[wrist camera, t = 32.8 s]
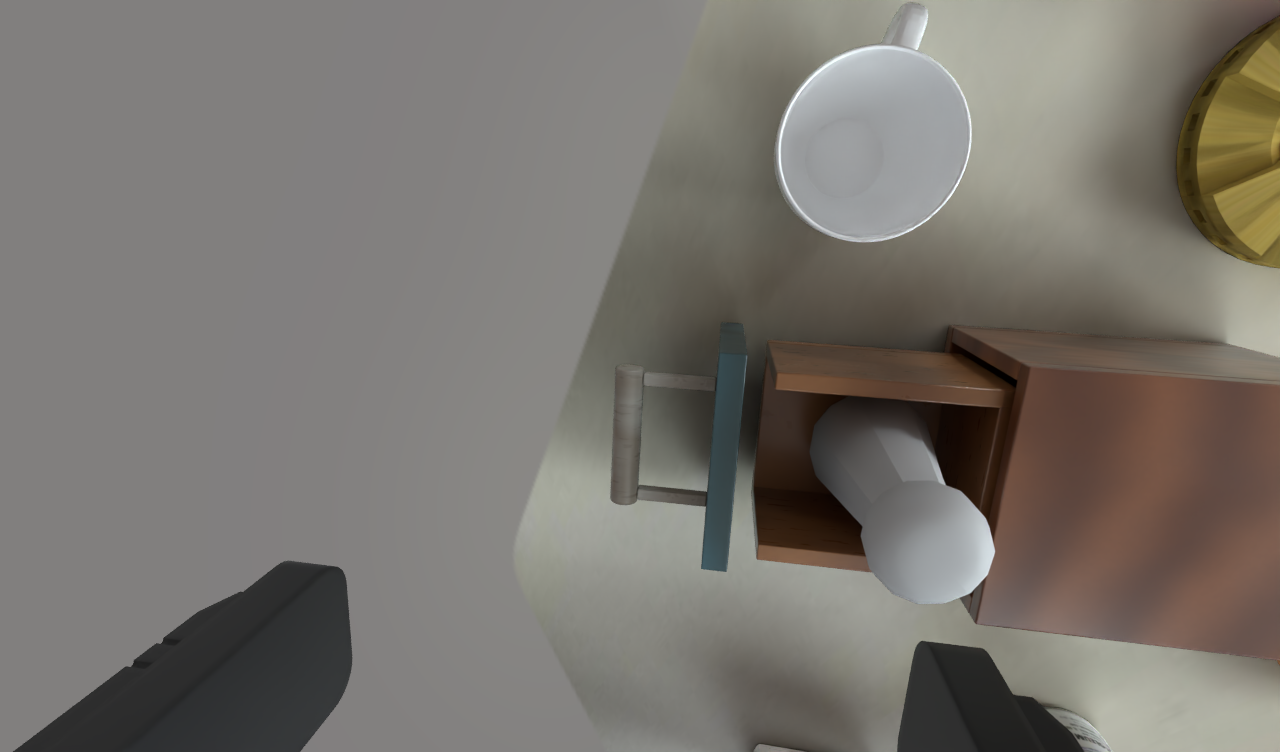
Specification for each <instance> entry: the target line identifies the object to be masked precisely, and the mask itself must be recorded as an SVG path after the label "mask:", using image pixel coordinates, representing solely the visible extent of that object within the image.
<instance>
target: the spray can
mask: <svg viewBox="0 0 1280 752" xmlns="http://www.w3.org/2000/svg"><path fill="white" fill-rule="evenodd" d="M1044 708H1045V709H1046V710H1047V711H1048V712H1049V713H1050V714H1051V715H1053V716H1054V717H1055V718H1056V719H1057V720H1058V721H1059V722H1060V723H1062V724H1063V725H1064V726H1065V727H1066V728H1067V729H1068V730H1069V731H1071V732H1072V733H1073V735H1074V736H1075V738H1076V739H1077V741H1078V742H1079V744H1080V746H1081V747H1082V749H1083V750H1084V752H1113V751H1112V750H1111V748H1110V747H1109V745H1108V744H1107V742H1106V741H1105V740H1104V738H1103V737H1102V736H1101V735H1100V733H1099V732H1098V731H1097V730H1096V729H1095V728H1094V727H1093V726H1092V725H1091V724H1090V723H1089V722H1088V721H1087V720H1086V719H1084V718H1082V717H1080V716H1079V715H1077V714H1075V713H1073V712H1071V711H1068V710H1065V709H1060V708H1051V707H1044Z"/></svg>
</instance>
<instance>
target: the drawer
mask: <svg viewBox="0 0 1280 752" xmlns="http://www.w3.org/2000/svg"><path fill="white" fill-rule="evenodd" d="M746 364H747V349H746V342H745V334H744V326H743V324H738V323H724V322H722V323H721V329H720V341H719V353H718V366H717V378H716V377H708V376H696V375H684V374H671V373H659V372H647V371H646V372H645V373H644V368H643V367H641V366H638V365H633V364H623V365H619V366H617V367H616V370H615V395H614V419H613V443H612V468H611V492H610V499H611V501H612V502H614V503H616V504H619V505H630V504H633V503H635V502H636V501H637V499H638V500H647V501H657V502H666V503H676V504H686V505H695V506H706V512H705V525H704V538H703V551H702V564H701V569H706V570H715V571H724V572H727V565H728V555H729V544H730V533H731V523H732V512H733V502H734V491H735V481H736V470H737V460H738V449H739V438H740V428H741V417H742V407H743V396H744V386H745V375H746ZM644 386H654V387H666V388H678V389H690V390H702V391H713V392H714V391H715V402H714V414H713V426H712V438H711V450H710V462H709V474H708V486H707V492H705V491H695V490H685V489H675V488H666V487H656V486H646V485H639V487H638V482H639V463H640V444H641V425H642V406H643V387H644ZM1015 391H1016V387H1014V386H1012V385H1011V384H1009V383H1008V382H1006V381H1004V380H1003V379H1001V378H999V377H998V376H996V375H995V374H993V373H991V372H990V371H988V370H986V369H985V368H983V367H982V366H980V365H978V364H977V363H975V362H974V361H972V360H970V359H969V358H967V357H965V356H963V355H962V354H955V353H941V352H928V351H914V350H900V349H887V348H873V347H860V346H846V345H833V344H819V343H806V342H792V341H778V340H767V343H766V353H765V363H764V372H763V382H762V392H761V402H760V412H759V421H758V431H757V441H756V451H755V461H754V470H753V480H752V490H751V495H752V509H753V522H754V534H755V547H756V558H757V559H758V560H766V561H775V562H784V563H793V564H802V565H811V566H820V567H828V568H837V569H846V570H855V571H864V572H872V571H871V570H870V568H869V566H868V562H867V558H866V555H865V551H864V547H863V543H862V539H861V532H862V525H861V524H860V523H859V522H858V521H857V520H856V519H855V518H854V517H853V516H852V515H851V513H850V512H849V511H848V510H847V509H846V508H845V507H844V506H843V505H842V504H841V503H840V502H839V500H838V499H837V498H836V497H835V496H834V495H833V494H832V493H831V492H830V491H829V490H828V489H827V487H826V486H825V485H824V484H823V483H822V482H821V481H820V480H819V479H818V478H817V477H816V475H815V472H814V468H813V464H812V460H811V456H810V446H811V441H812V435H813V430H814V425H815V424H816V423H817V421H818V420H819V419H820V418H821V417H822V415H823V414H824V413H825V412H826V411H827V409H828V408H829V407H830V406H831V405H833V404H835V403H837V402H839V401H840V400H842V399H844V398H846V397H848V396H859V397H871V398H883V399H895V400H902V401H904V402H907V403H909V405H910V406H911V407H912V408H913V409H914V410H915V411H916V412H917V413H918V415H919V416H920V417H921V418H922V419H923V420H924V421H925V422H926V424H927V428H928V431H929V434H930V438H931V441H932V444H933V448H934V451H935V454H936V458H937V461H938V464H939V468H940V470H941V473H942V476H943V479H944V482H945V484H946V486H949V487H952V488H954V489H957V490H960V491H961V492H962V493H963V494H964V495H965V496H966V497H967V498H968V499H969V500H970V501H971V502H972V503H973V504H974V505H975V507H976V508H977V509H978V510H979V511H980V512H981V513H982V514H983V516H984V517H985V518H986V520H987V523H988V521H989V516H990V512H991V507H992V502H993V497H994V492H995V488H996V483H997V478H998V473H999V468H1000V463H1001V459H1002V454H1003V449H1004V444H1005V439H1006V435H1007V430H1008V425H1009V420H1010V415H1011V410H1012V406H1013V401H1014V396H1015Z"/></svg>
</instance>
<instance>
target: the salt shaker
mask: <svg viewBox="0 0 1280 752" xmlns="http://www.w3.org/2000/svg"><path fill="white" fill-rule="evenodd" d="M810 456H811V460H812V464H813V468H814V472H815V475H816V477H817V478H818V479H819V480H820V481H821V482H822V483H823V484H824V485H825V486H826V487H827V489H828V490H829V491H830V492H831V493H832V494H833V495H834V496H835V497H836V498H837V499H838V500H839V502H840V503H841V504H842V505H843V506H844V507H845V508H846V509H847V510H848V511H849V512H850V513H851V515H852V516H853V517H854V518H855V519H856V520H857V521H858V522H859V523H860V524H861V525H862V532H861V539H862V543H863V547H864V551H865V555H866V558H867V562H868V566H869V568H870V570H871V571H872V572H873V573H874V575H875V576H876V577H877V578H878V579H879V580H880V581H881V582H882V583H883V584H884V585H885V586H886V587H887V588H888V589H889V590H890V591H891V592H892V593H893V594H894V595H897V596H899V597H902V598H904V599H906V600H909V601H911V602H914V603H916V604H945V603H947V602H950V601H952V600H955V599H957V598H960V597H962V596H965V595H968V594H970V593H971V592H972V591H973V590H974V589H975V588H976V587H977V586H978V585H979V584H980V582H981V581H982V580H983V579H984V578H985V577H986V576H987V575H988V573H989V569H990V566H991V563H992V560H993V557H994V554H995V548H994V544H993V540H992V536H991V532H990V528H989V525H988V523H987V520H986V518H985V517H984V516H983V514H982V513H981V512H980V511H979V510H978V509H977V508H976V507H975V505H974V504H973V503H972V502H971V501H970V500H969V499H968V498H967V497H966V496H965V495H964V494H963V493H962V492H961V491H960V490H957V489H954V488H952V487H949V486H946V484H945V482H944V479H943V476H942V473H941V470H940V468H939V464H938V461H937V458H936V454H935V451H934V448H933V444H932V441H931V438H930V434H929V431H928V428H927V424H926V422H925V421H924V420H923V419H922V418H921V417H920V416H919V415H918V413H917V412H916V411H915V410H914V409H913V408H912V407H911V406H910V405H909V403H907V402H904V401H902V400H895V399H883V398H871V397H859V396H848V397H846V398H844V399H842V400H840V401H839V402H837V403H835V404H833V405H831V406H830V407H829V408H828V409H827V411H826V412H825V413H824V414H823V415H822V417H821V418H820V419H819V420H818V421H817V423H816V424H815V425H814V430H813V435H812V441H811V446H810Z"/></svg>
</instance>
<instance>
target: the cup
mask: <svg viewBox="0 0 1280 752" xmlns="http://www.w3.org/2000/svg"><path fill="white" fill-rule="evenodd" d="M927 21H928V10H927V8H926V7H925V6H923V5H920V4H917V3H912V2H908V3H905V4H903V5H902V6H901V7H900V8H899V10H898V11H897V12H896V14H895V15H894V17H893V19H892V21H891V23H890V25H889V27H888V28H887V30H886V33H885V35H884V37H883V39H882V41H881V43H880V44H871V45H865V46H860V47H857V48H853V49H850V50H848V51H845V52H843V53H840V54H838V55H836V56H835V57H833V58H831V59H829V60H828V61H826V62H825V63H823V64H822V65H821V66H819V67H818V68H817V69H816V70H814V71H813V72H812V73H811V74H810V75H809V76H808V77H807V78H806V79H805V80H804V81H803V83H802V84H801V85H800V86H799V88H798V89H797V90H796V92H795V93H794V95H793V96H792V98H791V100H790V101H789V103H788V105H787V107H786V108H785V110H784V112H783V115H782V117H781V120H780V122H779V126H778V130H777V134H776V139H775V147H774V170H775V175H776V180H777V183H778V186H779V189H780V191H781V193H782V195H783V197H784V199H785V201H786V203H787V204H788V206H789V207H790V208H791V210H792V211H793V212H794V213H795V214H796V215H797V216H798V217H799V218H800V219H801V220H802V221H803V222H804V223H806V224H807V225H808V226H810V227H811V228H813V229H815V230H816V231H818V232H820V233H823V234H825V235H827V236H830V237H833V238H837V239H841V240H845V241H852V242H877V241H883V240H887V239H891V238H894V237H897V236H900V235H903V234H905V233H907V232H909V231H911V230H913V229H915V228H917V227H918V226H920V225H921V224H923V223H924V222H926V221H927V220H928V219H930V218H931V217H932V216H933V215H934V214H935V213H937V212H938V211H939V210H940V209H941V208H942V206H943V205H944V204H945V203H946V202H947V201H948V199H949V198H950V197H951V195H952V194H953V192H954V191H955V189H956V187H957V186H958V184H959V182H960V180H961V178H962V176H963V173H964V171H965V168H966V165H967V162H968V158H969V154H970V148H971V136H972V130H971V119H970V113H969V109H968V105H967V102H966V100H965V97H964V95H963V93H962V91H961V89H960V87H959V85H958V84H957V82H956V81H955V79H954V78H953V76H952V75H951V74H950V73H949V72H948V71H947V70H946V69H945V68H944V67H943V66H942V65H941V64H940V63H939V62H937V61H936V60H935V59H933V58H932V57H930V56H928V55H927V54H925V53H923V52H920V51H918V48H919V45H920V42H921V39H922V37H923V34H924V31H925V28H926V25H927Z"/></svg>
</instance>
